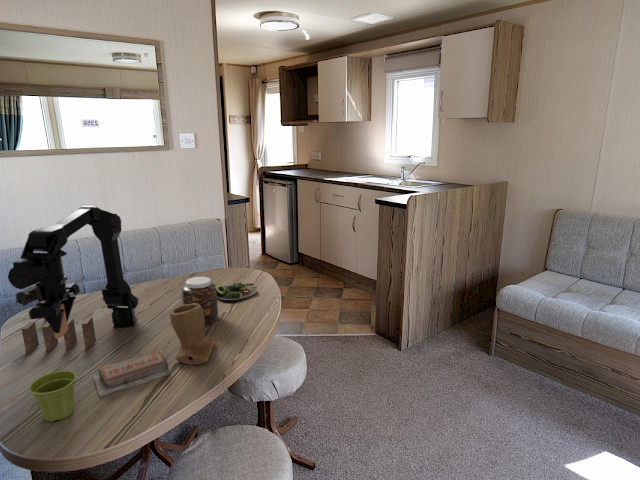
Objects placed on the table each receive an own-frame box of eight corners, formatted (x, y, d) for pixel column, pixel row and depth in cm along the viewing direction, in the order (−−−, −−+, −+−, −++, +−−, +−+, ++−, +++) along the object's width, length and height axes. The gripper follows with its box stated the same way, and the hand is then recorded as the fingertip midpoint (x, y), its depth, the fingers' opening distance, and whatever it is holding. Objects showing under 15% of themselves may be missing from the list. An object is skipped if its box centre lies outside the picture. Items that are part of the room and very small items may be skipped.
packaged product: (159, 345, 122) (169, 360, 115) (161, 360, 124) (171, 375, 116) (90, 364, 112) (96, 382, 104) (93, 380, 114) (99, 399, 106)
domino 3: (68, 329, 120) (63, 303, 118) (61, 337, 115) (56, 310, 113) (62, 330, 119) (57, 304, 117) (55, 338, 115) (50, 311, 113)
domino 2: (58, 342, 133) (54, 319, 131) (52, 350, 129) (47, 326, 127) (52, 343, 133) (48, 320, 131) (46, 351, 128) (41, 327, 126)
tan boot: (180, 342, 133) (175, 298, 129) (217, 341, 134) (214, 297, 130) (165, 368, 118) (160, 319, 115) (207, 367, 119) (203, 318, 115)
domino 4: (77, 341, 134) (73, 318, 132) (71, 348, 130) (67, 325, 128) (71, 341, 134) (67, 318, 132) (65, 349, 129) (61, 325, 127)
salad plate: (243, 282, 187) (242, 273, 186) (267, 293, 175) (267, 282, 174) (204, 294, 174) (203, 283, 173) (227, 306, 162) (226, 295, 161)
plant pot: (25, 421, 97) (19, 388, 95) (63, 398, 105) (57, 367, 103) (54, 431, 94) (48, 397, 91) (90, 406, 102) (85, 374, 100)
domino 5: (95, 339, 135) (92, 316, 133) (90, 346, 131) (87, 323, 129) (90, 339, 135) (86, 317, 133) (85, 347, 130) (81, 323, 128)
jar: (217, 311, 156) (214, 273, 152) (219, 324, 145) (216, 284, 142) (184, 315, 153) (180, 276, 149) (184, 329, 142) (180, 288, 138)
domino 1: (39, 344, 132) (34, 321, 130) (32, 352, 127) (27, 328, 125) (33, 345, 132) (29, 322, 130) (26, 353, 127) (21, 329, 125)
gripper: (33, 267, 120) (43, 317, 124) (0, 290, 102) (12, 347, 106) (76, 264, 122) (84, 313, 126) (50, 286, 105) (60, 343, 109)
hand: (61, 328), depth 117 cm, fingers closed on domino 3, 5 cm apart
